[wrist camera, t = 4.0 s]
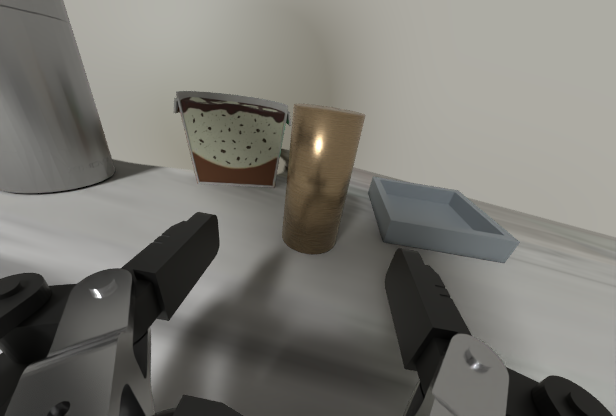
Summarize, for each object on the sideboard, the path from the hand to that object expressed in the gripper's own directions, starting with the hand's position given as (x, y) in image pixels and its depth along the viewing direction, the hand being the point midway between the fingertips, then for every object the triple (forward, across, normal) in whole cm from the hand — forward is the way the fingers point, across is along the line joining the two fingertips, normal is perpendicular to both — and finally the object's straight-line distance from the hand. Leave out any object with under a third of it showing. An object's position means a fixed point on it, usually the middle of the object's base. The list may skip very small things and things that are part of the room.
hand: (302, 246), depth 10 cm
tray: (+16, -13, +6) cm, 22 cm away
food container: (+20, +11, +6) cm, 24 cm away
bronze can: (+9, 0, +6) cm, 11 cm away
